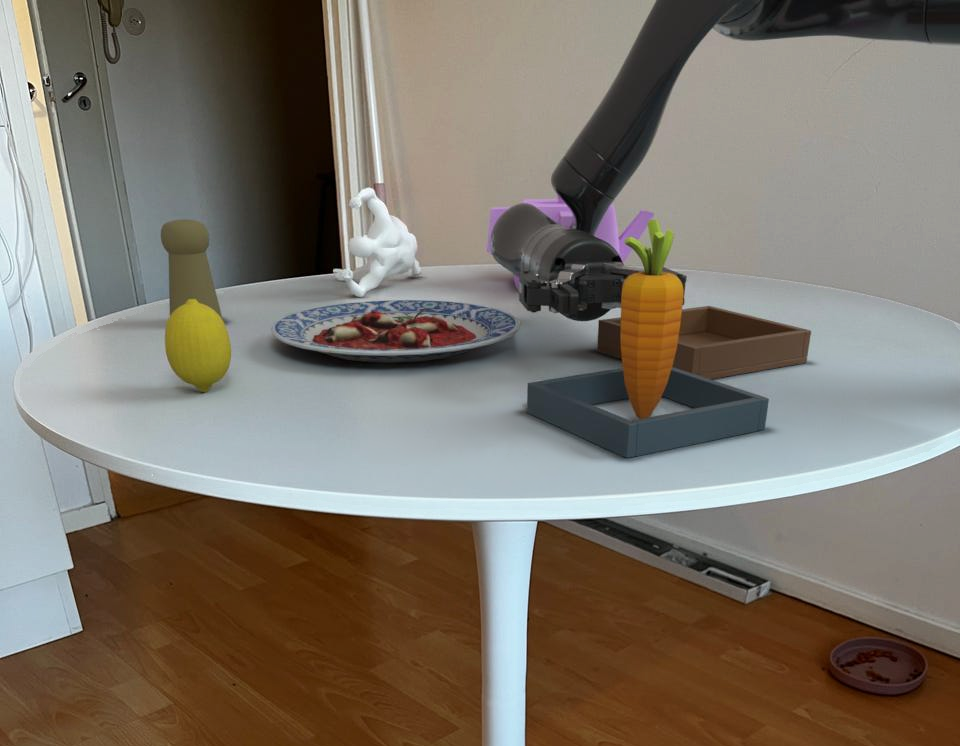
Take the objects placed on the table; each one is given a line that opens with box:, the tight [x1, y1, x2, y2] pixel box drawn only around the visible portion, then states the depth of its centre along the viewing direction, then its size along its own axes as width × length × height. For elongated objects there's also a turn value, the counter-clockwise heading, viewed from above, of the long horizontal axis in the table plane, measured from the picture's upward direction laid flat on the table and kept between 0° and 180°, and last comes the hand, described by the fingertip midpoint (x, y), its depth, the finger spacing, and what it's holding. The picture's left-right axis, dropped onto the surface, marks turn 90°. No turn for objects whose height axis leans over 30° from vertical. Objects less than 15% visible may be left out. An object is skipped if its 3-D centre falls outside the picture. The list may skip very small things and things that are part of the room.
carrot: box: [620, 219, 684, 419], centre depth 78 cm, size 5×5×15 cm
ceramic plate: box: [270, 299, 521, 364], centre depth 105 cm, size 26×26×3 cm
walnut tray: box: [596, 305, 812, 380], centre depth 100 cm, size 15×15×3 cm
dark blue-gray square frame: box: [526, 367, 770, 459], centre depth 81 cm, size 14×14×2 cm
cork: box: [160, 218, 224, 321], centre depth 113 cm, size 6×6×11 cm
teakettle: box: [486, 194, 655, 292], centre depth 134 cm, size 17×17×12 cm
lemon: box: [164, 299, 232, 393], centre depth 88 cm, size 6×6×8 cm
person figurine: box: [332, 187, 423, 298], centre depth 133 cm, size 13×13×18 cm
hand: (624, 303), depth 83 cm, fingers open, 8 cm apart
